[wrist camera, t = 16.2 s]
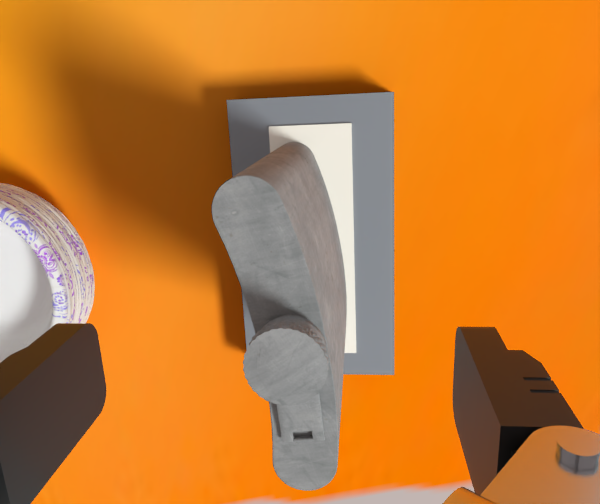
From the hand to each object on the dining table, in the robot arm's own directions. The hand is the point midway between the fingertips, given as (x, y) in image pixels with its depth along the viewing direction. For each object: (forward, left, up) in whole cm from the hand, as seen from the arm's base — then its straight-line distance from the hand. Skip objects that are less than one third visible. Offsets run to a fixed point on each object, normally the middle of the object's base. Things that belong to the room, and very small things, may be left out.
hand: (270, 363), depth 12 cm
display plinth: (+5, -2, -33) cm, 33 cm away
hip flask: (+5, -1, -30) cm, 30 cm away
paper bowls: (+7, -27, -33) cm, 43 cm away
